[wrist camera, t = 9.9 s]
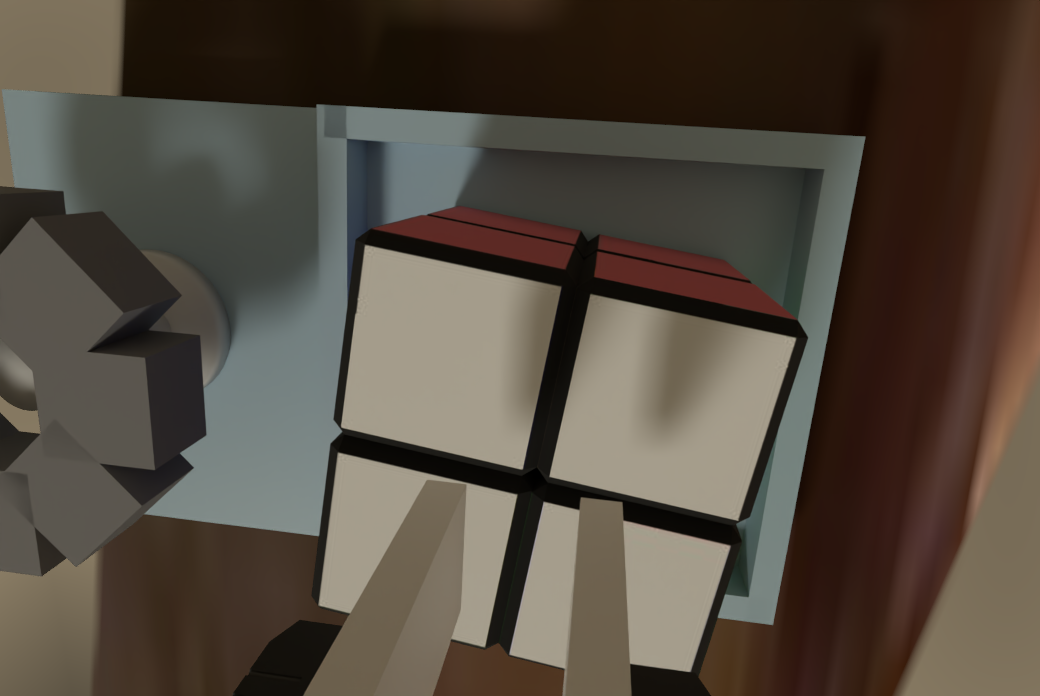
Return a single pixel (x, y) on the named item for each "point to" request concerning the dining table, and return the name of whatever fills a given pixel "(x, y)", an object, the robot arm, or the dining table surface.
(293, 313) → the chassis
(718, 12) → the dining table surface
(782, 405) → the puzzle cube
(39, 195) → the wheel
